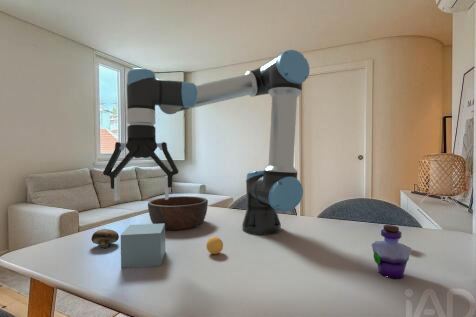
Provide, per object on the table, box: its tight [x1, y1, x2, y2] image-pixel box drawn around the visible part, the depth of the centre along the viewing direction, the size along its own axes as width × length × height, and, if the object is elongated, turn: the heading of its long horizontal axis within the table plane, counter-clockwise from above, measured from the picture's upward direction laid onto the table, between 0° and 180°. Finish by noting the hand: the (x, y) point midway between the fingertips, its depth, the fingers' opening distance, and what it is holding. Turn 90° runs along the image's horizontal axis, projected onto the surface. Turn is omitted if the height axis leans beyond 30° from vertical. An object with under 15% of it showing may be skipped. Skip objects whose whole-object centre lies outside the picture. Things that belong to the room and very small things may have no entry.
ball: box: [206, 236, 224, 255], centre depth 80 cm, size 5×5×5 cm
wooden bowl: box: [147, 195, 209, 231], centre depth 115 cm, size 25×25×10 cm
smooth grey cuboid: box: [120, 223, 166, 269], centre depth 76 cm, size 10×10×9 cm
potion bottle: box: [371, 224, 412, 280], centre depth 66 cm, size 9×9×12 cm
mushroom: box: [90, 228, 120, 249], centre depth 88 cm, size 8×8×6 cm
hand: (142, 199), depth 77 cm, fingers open, 13 cm apart
